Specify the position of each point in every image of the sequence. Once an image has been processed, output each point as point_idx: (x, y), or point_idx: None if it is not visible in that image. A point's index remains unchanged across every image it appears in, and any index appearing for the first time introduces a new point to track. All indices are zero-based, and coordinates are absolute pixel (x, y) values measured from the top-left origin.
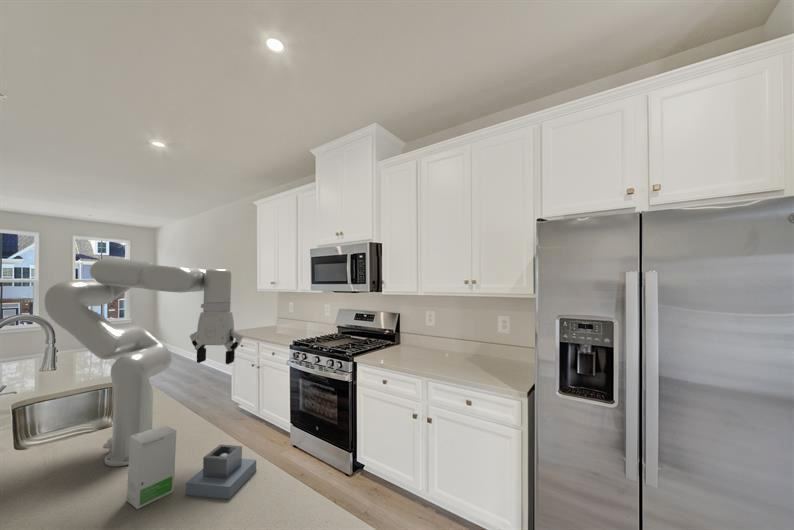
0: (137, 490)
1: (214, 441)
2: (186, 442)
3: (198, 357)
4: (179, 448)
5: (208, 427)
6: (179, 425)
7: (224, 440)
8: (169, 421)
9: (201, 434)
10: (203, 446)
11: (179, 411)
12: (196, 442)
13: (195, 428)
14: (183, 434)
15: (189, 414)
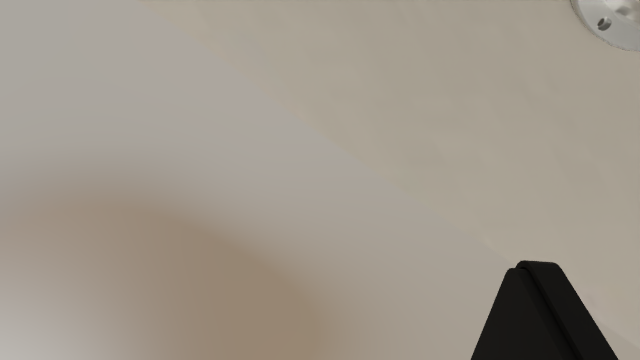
0: None
1: (332, 84)
2: (462, 71)
3: (566, 334)
4: (467, 16)
5: (429, 201)
6: (568, 211)
7: (289, 95)
8: (627, 240)
9: (429, 142)
10: (360, 38)
11: (622, 315)
12: (414, 73)
13: (483, 190)
14: (512, 139)
15: None
